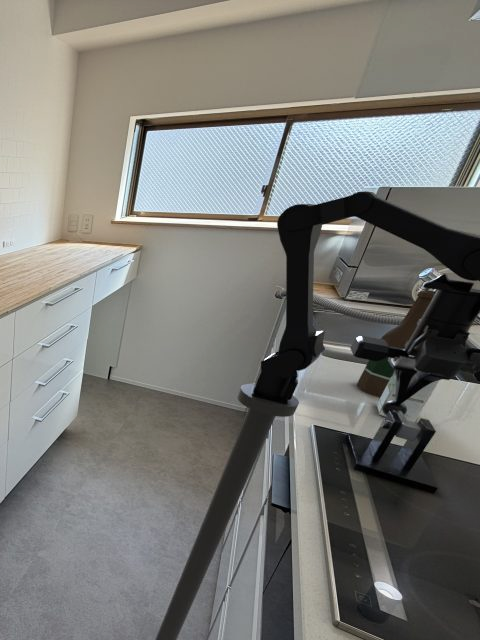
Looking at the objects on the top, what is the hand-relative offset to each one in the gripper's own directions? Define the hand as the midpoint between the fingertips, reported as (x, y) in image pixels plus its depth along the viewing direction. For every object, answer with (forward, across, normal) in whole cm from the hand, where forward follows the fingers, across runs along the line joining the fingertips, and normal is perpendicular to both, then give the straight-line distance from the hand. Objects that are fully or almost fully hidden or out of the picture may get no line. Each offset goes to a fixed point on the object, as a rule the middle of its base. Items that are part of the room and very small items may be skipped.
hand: (398, 401), depth 75 cm
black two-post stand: (+8, 0, -9) cm, 12 cm away
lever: (+3, 0, -4) cm, 5 cm away
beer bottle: (+9, +4, +29) cm, 31 cm away
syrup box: (+9, +5, +16) cm, 19 cm away
